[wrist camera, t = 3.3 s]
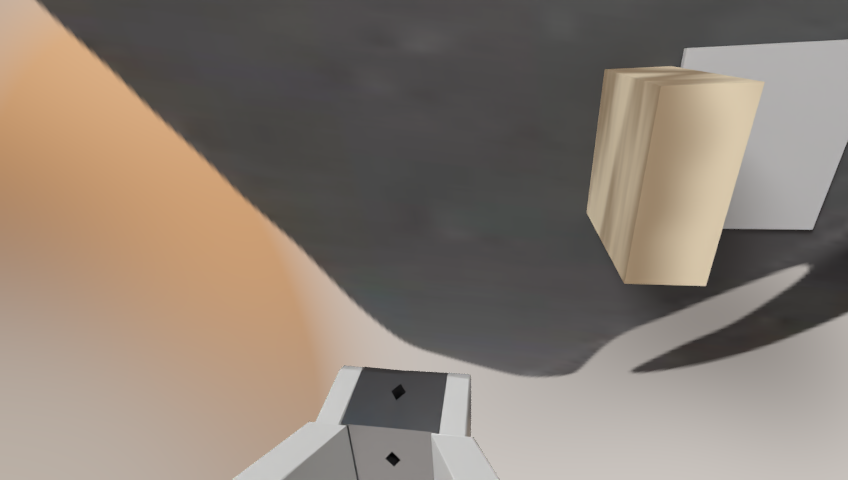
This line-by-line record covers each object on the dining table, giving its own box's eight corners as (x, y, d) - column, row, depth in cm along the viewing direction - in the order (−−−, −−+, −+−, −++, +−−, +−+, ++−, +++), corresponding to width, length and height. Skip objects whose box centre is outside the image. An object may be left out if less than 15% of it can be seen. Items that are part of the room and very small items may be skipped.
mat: (882, 37, 24) (888, 37, 23) (808, 227, 29) (812, 229, 29) (684, 48, 25) (686, 48, 25) (648, 225, 31) (650, 228, 30)
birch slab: (671, 66, 26) (765, 81, 17) (643, 212, 30) (705, 286, 21) (604, 69, 26) (661, 86, 18) (586, 212, 31) (624, 283, 22)
